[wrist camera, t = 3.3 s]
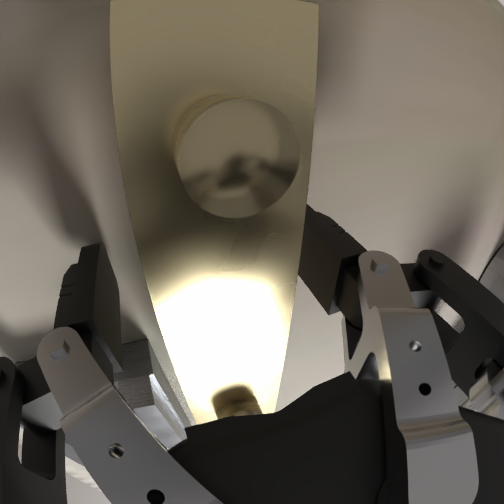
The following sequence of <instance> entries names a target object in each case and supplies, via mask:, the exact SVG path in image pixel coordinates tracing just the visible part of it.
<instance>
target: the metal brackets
mask: <svg viewBox="0 0 504 504" xmlns="http://www.w3.org/2000/svg"><path fill="white" fill-rule="evenodd" d="M121 347H122V359H123V370H124V371H123V372H118V373H113V376H114V386H115V387H116V388H117V389H118V391H119V392H120V393H121V395H122V396H123V397H124V399H125V400H126V401H127V402H128V404H129V405H130V406H131V407H132V409H133V410H134V411H135V412H136V414H137V415H138V416H139V417H140V418H141V420H142V421H143V422H144V423H145V424H146V425H147V426H148V428H149V429H150V430H151V431H152V432H153V433H154V434H155V435H156V436H157V437H158V439H159V440H160V441H161V442H162V443H163V444H164V445H165V446H166V447H167V448H168V449H170V448H172V447H173V446H175V445H176V444H178V443H179V442H181V441H183V440H185V439H187V436H186V432H185V429H184V428H186V427H190V426H191V423H190V421H189V419H188V418H187V416H186V414H185V412H184V410H183V409H182V407H181V405H180V403H179V401H178V400H177V398H176V396H175V394H174V392H173V390H172V388H171V386H170V384H169V382H168V380H167V378H166V376H165V374H164V372H163V370H162V368H161V366H160V364H159V362H158V360H157V358H156V356H155V354H154V352H153V349H152V347H151V345H150V343H149V341H148V339H147V340H142V341H137V342H133V343H128V344H123V345H121ZM22 363H24V362H19V363H16V364H15V365H16V366H19V365H20V364H22ZM20 427H22V428H23V429H24V426H22V425H21V424H20ZM65 456H66V457H68V458H70V459H72V460H73V461H75V462H77V463H79V464H81V465H83V463H82V462H81V460H80V458H79V457H78V455H77V454H76V452H75V450H74V449H73V447H72V445H71V444H70V442H69V440H68V438H67V437H66V435H65ZM83 466H84V465H83Z"/></svg>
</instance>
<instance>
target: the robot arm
mask: <svg viewBox="0 0 504 504" xmlns="http://www.w3.org/2000/svg"><path fill="white" fill-rule="evenodd" d="M298 275H299V276H300V277H301V279H302V280H303V281H304V283H305V284H306V285H307V287H308V288H309V289H310V291H311V292H312V293H313V295H314V296H315V297H316V299H317V300H318V302H319V303H320V304H321V306H322V307H323V308H324V310H325V311H326V312H327V314H328V315H331V314H333V313H336V312H339V311H341V312H342V313H343V318H342V334H343V347H344V361H345V371H344V374H342V375H340V376H337V377H335V378H333V379H331V380H328V381H326V382H324V383H321V384H319V385H317V386H314V387H313V388H311V389H310V390H309V391H307V392H306V393H305V394H303V395H302V396H301V397H299V398H298V399H296V400H295V401H293V402H292V403H291V404H289V405H288V406H286V407H285V408H283V409H282V410H280V411H278V412H275V413H267V414H257V415H245V416H229V417H225V418H221V419H218V420H214V421H210V422H206V423H202V424H198V425H194V426H190V427H186V428H184V429H185V432H186V436H187V439H185V440H183V441H181V442H179V443H178V444H176V445H175V446H173V447H172V448H170V449H168V448H167V447H166V446H165V445H164V444H163V443H162V442H161V441H160V440H159V439H158V437H157V436H156V435H155V434H154V433H153V432H152V431H151V430H150V429H149V428H148V426H147V425H146V424H145V423H144V422H143V421H142V420H141V418H140V417H139V416H138V415H137V414H136V412H135V411H134V410H133V409H132V407H131V406H130V405H129V404H128V402H127V401H126V400H125V399H124V397H123V396H122V395H121V393H120V392H119V391H118V389H117V388H116V387H115V386H114V376H113V373H118V372H123V371H124V370H123V359H122V347H121V330H120V303H119V289H118V284H117V280H116V277H115V275H114V272H113V269H112V266H111V264H110V261H109V258H108V255H107V252H106V249H105V247H104V245H103V243H102V242H101V243H97V244H93V245H89V246H85V247H82V248H81V252H80V256H79V261H78V263H77V264H73V265H71V266H70V267H69V269H68V270H67V272H66V273H65V275H64V277H63V281H62V286H61V287H62V289H61V291H60V295H59V296H60V298H59V300H58V305H57V311H56V316H55V322H54V329H53V330H52V331H50V332H49V333H47V334H46V335H45V336H44V337H43V339H42V340H41V341H40V343H39V345H38V348H37V356H36V357H34V358H32V359H30V360H28V361H26V362H24V363H22V364H20V365H19V366H16V365H15V364H14V363H13V362H12V361H11V360H10V359H9V358H7V357H0V504H67V495H66V478H65V435H66V437H67V438H68V440H69V442H70V444H71V445H72V447H73V449H74V450H75V452H76V454H77V455H78V457H79V458H80V460H81V462H82V463H83V465H84V466H85V468H86V469H87V471H88V472H89V474H90V475H91V477H92V478H93V479H94V481H95V482H96V484H97V485H98V486H99V488H100V489H101V490H102V492H103V493H104V494H105V496H106V497H107V498H108V499H109V501H110V502H111V503H112V504H504V245H503V246H502V247H501V248H500V250H499V251H498V252H497V254H496V255H495V257H494V258H493V259H492V261H491V263H490V264H489V266H488V267H487V269H486V271H485V272H484V274H483V276H482V278H481V280H480V281H477V280H476V279H475V278H474V277H472V276H471V275H470V274H469V273H467V272H466V271H465V270H464V269H462V268H461V267H460V266H458V265H457V264H456V263H455V262H453V261H452V260H451V259H449V258H448V257H447V256H445V255H444V254H442V253H440V252H438V251H434V250H423V251H421V252H420V253H419V255H418V258H417V261H416V263H409V264H399V262H398V261H397V260H396V259H395V258H394V257H393V256H391V255H389V254H387V253H384V252H381V251H367V250H366V249H365V248H364V247H363V246H362V245H361V244H360V243H358V242H357V241H356V240H355V239H354V238H353V237H352V236H351V235H350V234H348V233H347V232H345V230H344V229H343V228H342V227H341V226H338V224H337V223H336V222H335V221H334V220H333V219H331V218H330V217H328V216H326V215H324V214H322V213H320V212H316V211H314V210H313V209H312V208H311V207H310V206H309V205H308V204H306V212H305V221H304V229H303V238H302V246H301V253H300V261H299V268H298ZM440 299H442V300H444V301H445V302H446V303H447V304H448V305H449V306H450V307H451V308H453V309H454V310H455V311H456V312H457V313H458V314H459V315H460V316H461V317H462V318H463V320H464V323H465V327H464V330H463V332H462V333H461V334H459V333H458V332H457V331H456V330H454V329H453V328H452V327H451V326H450V325H449V324H448V323H447V322H446V321H445V320H444V319H443V318H442V317H441V316H439V315H438V314H437V313H436V312H435V309H436V307H437V305H438V303H439V301H440ZM452 380H453V382H454V383H455V384H456V385H457V386H458V387H459V388H460V389H461V390H462V391H463V392H464V393H465V394H466V396H467V397H468V398H469V399H470V401H468V402H467V404H466V408H464V407H461V406H458V403H457V399H456V395H455V390H454V386H453V382H452ZM20 424H21V425H22V426H24V431H23V443H22V464H21V463H20V461H19V458H18V442H19V430H20Z"/></svg>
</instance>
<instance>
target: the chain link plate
mask: <svg viewBox="0 0 504 504" xmlns="http://www.w3.org/2000/svg"><path fill="white" fill-rule="evenodd" d="M318 25H319V4H314V3H309V2H304V1H299V0H113V1H110V64H111V82H112V96H113V107H114V117H115V126H116V134H117V142H118V149H119V156H120V163H121V169H122V175H123V181H124V187H125V192H126V197H127V203H128V208H129V213H130V217H131V222H132V227H133V231H134V236H135V240H136V244H137V248H138V252H139V256H140V260H141V264H142V268H143V272H144V276H145V279H146V283H147V287H148V290H149V294H150V297H151V300H152V304H153V307H154V310H155V314H156V317H157V320H158V323H159V326H160V329H161V332H162V335H163V338H164V341H165V344H166V347H167V350H168V353H169V356H170V359H171V361H172V364H173V367H174V369H175V372H176V375H177V377H178V380H179V383H180V385H181V388H182V390H183V393H184V395H185V398H186V400H187V403H188V405H189V407H190V410H191V412H192V415H193V417H194V419H195V421H196V424H197V425H198V424H202V423H206V422H210V421H214V420H218V419H221V418H225V417H229V416H245V415H257V414H267V413H274V411H275V406H276V401H277V396H278V391H279V386H280V380H281V375H282V369H283V364H284V358H285V353H286V347H287V341H288V335H289V329H290V322H291V316H292V310H293V303H294V297H295V290H296V283H297V276H298V268H299V261H300V253H301V246H302V238H303V229H304V221H305V212H306V203H307V194H308V184H309V174H310V163H311V152H312V140H313V127H314V113H315V98H316V80H317V58H318Z"/></svg>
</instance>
